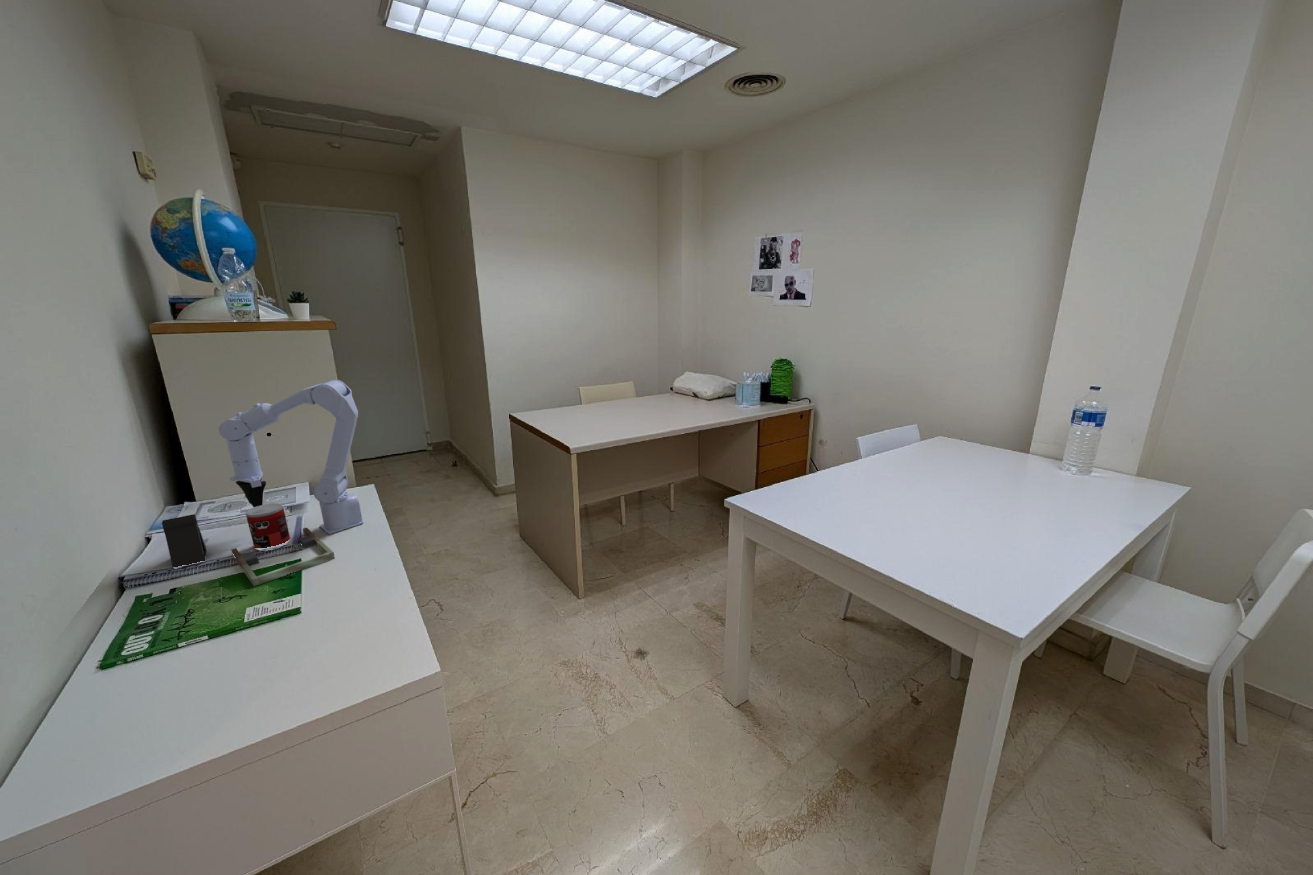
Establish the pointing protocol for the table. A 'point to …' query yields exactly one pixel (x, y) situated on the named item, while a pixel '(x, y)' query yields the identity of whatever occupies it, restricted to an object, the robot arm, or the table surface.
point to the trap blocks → (253, 559)
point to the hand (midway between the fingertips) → (256, 504)
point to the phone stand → (184, 540)
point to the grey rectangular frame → (288, 569)
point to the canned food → (267, 525)
